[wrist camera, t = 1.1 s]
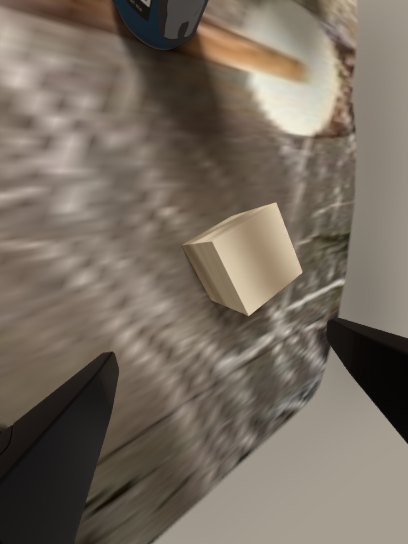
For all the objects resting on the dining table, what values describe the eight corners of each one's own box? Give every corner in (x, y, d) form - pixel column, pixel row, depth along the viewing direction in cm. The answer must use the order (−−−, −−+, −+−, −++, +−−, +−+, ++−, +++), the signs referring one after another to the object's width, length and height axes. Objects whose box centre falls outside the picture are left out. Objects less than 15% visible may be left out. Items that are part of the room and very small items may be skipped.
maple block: (210, 300, 21) (248, 316, 15) (181, 245, 19) (212, 241, 14) (255, 268, 23) (302, 272, 17) (231, 216, 21) (276, 202, 16)
